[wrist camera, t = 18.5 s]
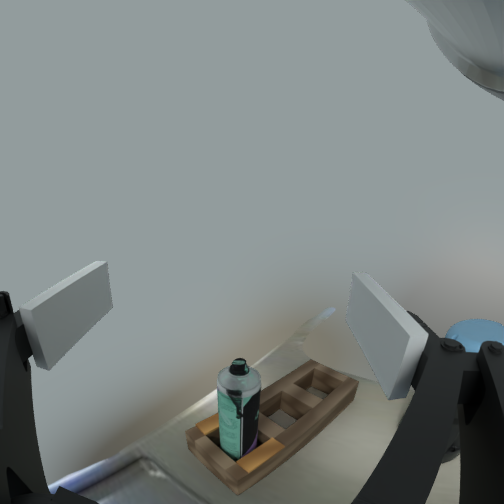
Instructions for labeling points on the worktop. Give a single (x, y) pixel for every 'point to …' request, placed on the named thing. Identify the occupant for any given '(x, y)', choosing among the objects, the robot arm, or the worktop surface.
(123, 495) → the worktop surface
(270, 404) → the rack
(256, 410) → the spray can
